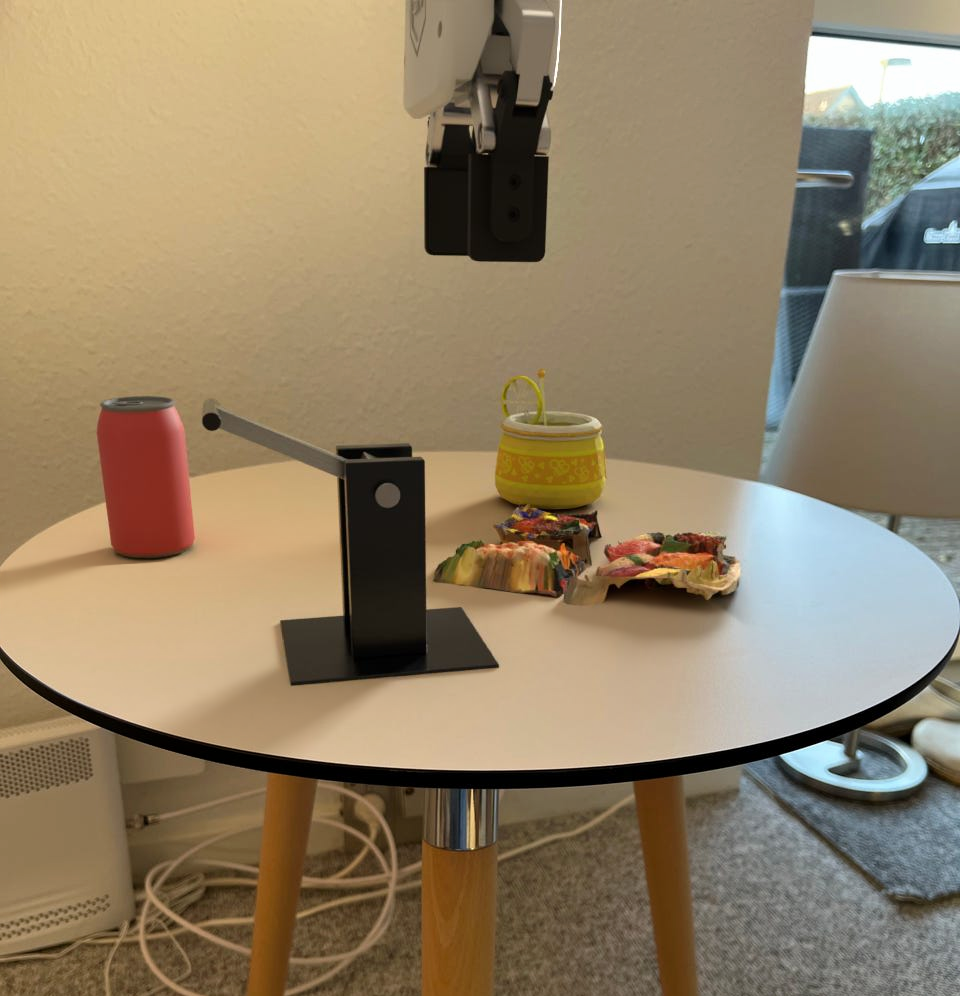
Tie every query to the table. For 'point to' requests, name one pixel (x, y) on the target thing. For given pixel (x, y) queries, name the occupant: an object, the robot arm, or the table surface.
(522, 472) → the yellow flower pot
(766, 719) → the table surface
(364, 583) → the bracket
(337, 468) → the lever
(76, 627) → the table surface
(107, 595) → the table surface
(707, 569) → the food
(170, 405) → the beer can
